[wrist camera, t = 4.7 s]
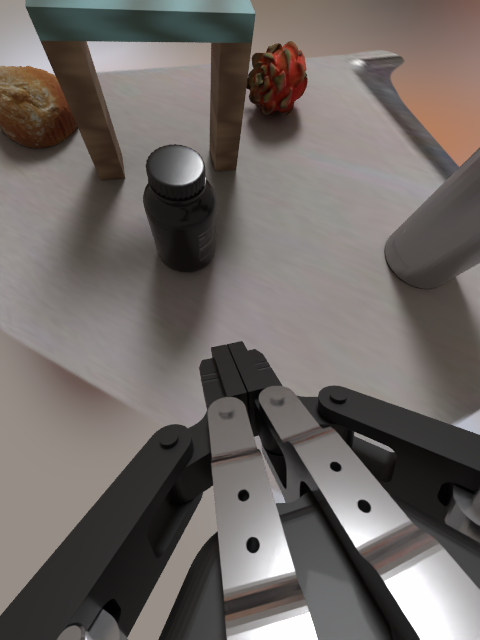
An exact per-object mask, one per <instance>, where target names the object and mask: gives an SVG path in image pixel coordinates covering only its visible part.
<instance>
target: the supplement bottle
mask: <svg viewBox="0 0 480 640" xmlns="http://www.w3.org/2000/svg"><path fill="white" fill-rule="evenodd" d="M146 172H147V176H148V184H147V186H146V188H145V191H144V195H143V204H144V208H145V212H146V215H147V218H148V221H149V225H150V228H151V231H152V234H153V238H154V241H155V244H156V247H157V250H158V253H159V256H160V258H161V260H162V261H163V262H164V263H165V264H166V265H167V266H168V267H170V268H171V269H173V270H176V271H179V272H194V271H197V270H200V269H202V268H204V267H205V266H206V265H207V264H208V263H209V262H210V261H211V259H212V258H213V255H214V252H215V237H216V195H215V192H214V190H213V188H212V186H211V185H210V183H209V182H208V181H207V180H206V175H205V165H204V161H203V160H202V157H201V156H200V155H199V154H198V153H197V152H196V151H194V150H192V149H191V148H188V147H186V146H182V145H176V144H175V145H168V146H163V147H159V148H158V149H156V150H154V152H152V153H151V155H150V156H149V157H148V160H147V164H146Z"/></svg>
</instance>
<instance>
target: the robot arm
mask: <svg viewBox="0 0 480 640" xmlns="http://www.w3.org/2000/svg"><path fill="white" fill-rule="evenodd" d="M385 255H386V259H387V262H388V264H389V266H390V267H391V269H392V270H393V271H394V273H395V274H396V275H397V276H398V277H399V278H401V279H402V280H403V281H405V282H406V283H408V284H410V285H412V286H415V287H419V288H424V289H430V288H435V287H438V286H440V285H442V284H444V283H445V282H447V281H449V280H451V279H452V278H454V277H456V276H457V275H459V274H461V273H463V272H465V271H466V270H468V269H470V268H472V267H473V266H475V265H477V264H479V263H480V148H479V149H478V150H477V151H476V152H475V153H474V154H473V155H472V156H471V157H470V158H469V159H468V160H467V161H465V162H464V164H462V165H461V166H460V167H459V168H458V169H457V170H456V171H455V172H454V173H453V174H452V175H451V176H450V177H449V178H448V179H447V180H446V181H445V182H444V183H443V184H442V185H441V186H440V187H439V188H438V189H437V190H436V191H435V192H434V193H433V194H432V195H431V196H430V197H429V198H428V199H427V200H426V201H425V202H424V203H423V204H422V205H421V206H420V207H419V208H418V209H417V210H416V211H415V212H414V213H413V214H412V215H411V216H410V217H409V218H408V219H407V220H406V221H405V222H404V223H403V224H402V225H401V226H400V227H399V228H398V229H397V230H396V231H395V232H394V233H393V234H392V235H391V236H390V237H389V238H388V240H387V242H386V245H385ZM211 352H212V358H211V359H206V360H202V362H201V364H200V367H199V370H200V375H201V381H202V387H203V392H204V397H205V402H206V407H207V412H206V414H205V416H204V418H203V419H202V420H201V421H200V422H198V423H197V424H195V425H194V426H192V427H190V428H186V427H185V426H183V425H178V424H174V425H168V426H165V427H163V428H161V429H160V430H158V431H157V432H156V433H155V434H154V435H153V436H152V437H151V438H150V439H149V441H148V442H147V443H146V444H145V445H144V446H143V448H142V449H141V450H140V451H139V452H138V453H137V455H136V456H135V457H134V458H133V459H132V461H131V462H130V463H129V464H128V465H127V466H126V468H125V469H124V470H123V471H122V472H121V474H120V475H119V476H118V477H117V478H116V479H115V481H114V482H113V483H112V484H111V486H110V487H109V488H108V489H107V490H106V491H105V493H104V494H103V495H102V496H101V497H100V498H99V500H98V501H97V502H96V503H95V504H94V506H93V507H92V508H91V509H90V510H89V511H88V513H87V514H86V515H85V516H84V517H83V519H82V520H81V521H80V522H79V523H78V524H77V526H76V527H75V528H74V529H73V530H72V532H71V533H70V534H69V535H68V536H67V537H66V539H65V540H64V541H63V542H62V544H61V545H60V546H59V547H58V548H57V549H56V550H55V552H54V553H53V554H52V555H51V556H50V558H49V559H48V560H47V561H46V562H45V563H44V565H43V566H42V567H41V568H40V569H39V571H38V572H37V573H36V574H35V575H34V576H33V578H32V579H31V580H30V581H29V582H28V584H27V585H26V586H25V587H24V588H23V590H22V591H21V592H20V593H19V594H18V596H17V597H16V598H15V599H14V600H13V602H12V603H11V604H10V605H9V606H8V607H7V608H6V610H5V611H4V612H3V613H2V614H1V616H0V640H128V639H127V637H128V635H129V633H130V631H131V629H132V628H133V626H134V624H135V622H136V620H137V618H138V616H139V615H140V612H141V611H142V609H143V607H144V605H145V603H146V601H147V599H148V597H149V596H150V594H151V592H152V590H153V588H154V586H155V584H156V583H157V581H158V579H159V577H160V575H161V573H162V571H163V569H164V568H165V566H166V564H167V562H168V560H169V558H170V556H171V555H172V553H173V551H174V549H175V547H176V545H177V543H178V541H179V540H180V538H181V536H182V534H183V532H184V530H185V528H186V527H187V525H188V523H189V521H190V519H191V517H192V515H193V513H194V511H195V510H196V508H197V506H198V504H199V502H200V500H201V498H202V495H203V492H204V491H205V490H207V489H208V488H210V487H211V486H213V487H214V497H215V507H216V518H217V528H218V531H217V532H216V533H215V534H214V535H213V536H212V537H211V538H210V539H209V540H208V541H207V542H206V543H205V544H204V546H203V547H202V548H201V550H200V551H199V553H198V554H197V556H196V558H195V559H194V561H193V563H192V565H191V567H190V569H189V571H188V573H187V576H186V578H185V580H184V582H183V585H182V587H181V589H180V592H179V594H178V596H177V599H176V601H175V603H174V606H173V608H172V610H171V612H170V615H169V617H168V619H167V621H166V624H165V626H164V628H163V630H162V633H161V635H160V637H159V640H480V435H478V434H475V433H473V432H470V431H467V430H464V429H461V428H458V427H456V426H453V425H450V424H447V423H444V422H441V421H439V420H436V419H433V418H430V417H427V416H424V415H421V414H419V413H416V412H413V411H410V410H407V409H404V408H402V407H399V406H396V405H393V404H390V403H387V402H385V401H382V400H379V399H376V398H373V397H370V396H367V395H365V394H362V393H359V392H356V391H353V390H350V389H348V388H345V387H341V386H328V387H325V388H323V389H322V390H321V391H320V392H319V395H318V397H300V396H296V395H295V394H294V392H293V391H292V390H290V389H289V388H287V387H284V386H282V384H281V383H280V381H279V379H278V378H277V376H276V375H275V373H274V371H273V370H272V368H271V367H270V365H269V363H268V362H267V360H266V358H265V357H264V355H263V354H262V353H260V352H259V351H257V350H256V349H253V350H249V351H247V349H246V347H245V345H244V343H243V342H242V341H241V342H236V343H231V344H227V345H221V346H216V347H211ZM354 432H357V433H359V434H361V435H364V436H366V437H368V438H370V439H373V440H375V441H377V442H380V443H382V444H384V445H387V446H389V447H390V448H391V449H393V450H394V451H395V452H389V451H387V450H384V449H382V448H380V447H378V446H375V445H373V444H371V443H369V442H366V441H364V440H362V439H360V438H357V437H355V436H354ZM258 435H259V437H260V439H261V442H262V452H263V455H264V457H265V459H266V461H267V463H268V465H269V467H270V469H271V471H272V473H273V475H274V477H275V480H276V482H277V484H278V486H279V488H280V490H281V492H282V494H283V496H284V499H285V502H286V503H275V500H274V496H273V493H272V489H271V486H270V482H269V479H268V475H267V472H266V468H265V465H264V461H263V458H262V455H261V452H260V450H259V449H257V447H256V443H255V440H254V437H255V436H258Z"/></svg>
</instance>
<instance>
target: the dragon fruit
mask: <svg viewBox="0 0 480 640" xmlns="http://www.w3.org/2000/svg"><path fill="white" fill-rule="evenodd" d="M252 65H253V68H254V69H253V70H252V71H251V72H250V73H249V75H248V78H247V86H246V88H247V89H249V90H250V95H249V99H250V101H251V102H252V103H254V104H257V105H260V108H261V109H262V113H264V114H266V115H270V114H273V113H274V111H279V112H281V113H287V112H288V114H289V113H291V111H292V109H293V106H294V101H296V99H299V98H300V97H301V96H302V95H303V93H304V91H305V89H306V86H307V74H306V72H305V71H306V64H305V58H304V55H303V53H302V51H301V50H300V51H298V48H297V46H296V45H295V44H294V43H293V42H292V41H290V42H288V43H287V44H285V45H284V46H283V47H282V46H281V44H279V43H278V44H274V45H272V46H269V47H268V49H267V51H266V53H255V54H254V55H253V56H252ZM288 114H287V115H288Z"/></svg>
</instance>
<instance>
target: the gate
mask: <svg viewBox="0 0 480 640" xmlns="http://www.w3.org/2000/svg"><path fill="white" fill-rule="evenodd" d="M26 9H27V11H28V13H29V15H30V18H31V20H32V22H33V25H34V27H35V29H36V32H37V34H38V36H39V39H40V41H41V43H42V45H43V48H44V50H45V52H46V55H47V57H48V59H49V62H50V64H51V66H52V68H53V71H54V73H55V75H56V78H57V80H58V82H59V85H60V87H61V89H62V92H63V94H64V96H65V99H66V101H67V103H68V105H69V108H70V110H71V112H72V115H73V117H74V119H75V122H76V124H77V126H78V129H79V131H80V133H81V135H82V138H83V140H84V142H85V145H86V147H87V149H88V152H89V154H90V156H91V159H92V161H93V163H94V165H95V168H96V170H97V172H98V175H99V177H100V179H101V180H106V179H119V178H125V174H124V166H123V159H122V153H121V150H120V147H119V144H118V141H117V137H116V134H115V131H114V128H113V125H112V121H111V118H110V115H109V112H108V109H107V105H106V102H105V99H104V96H103V93H102V89H101V86H100V83H99V80H98V77H97V74H96V70H95V67H94V64H93V61H92V58H91V54H90V51H89V48H88V45H87V42H86V41H119V42H120V41H121V42H209V43H212V44H211V99H210V153H211V157H212V161H213V165H214V168H215V171H222V170H235V169H236V166H237V158H238V150H239V142H240V134H241V126H242V118H243V110H244V102H245V94H246V86H247V78H248V70H249V62H250V53H251V46H252V37H253V30H254V22H255V12H254V9H253V7H252V4H251V2H250V0H26Z"/></svg>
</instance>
